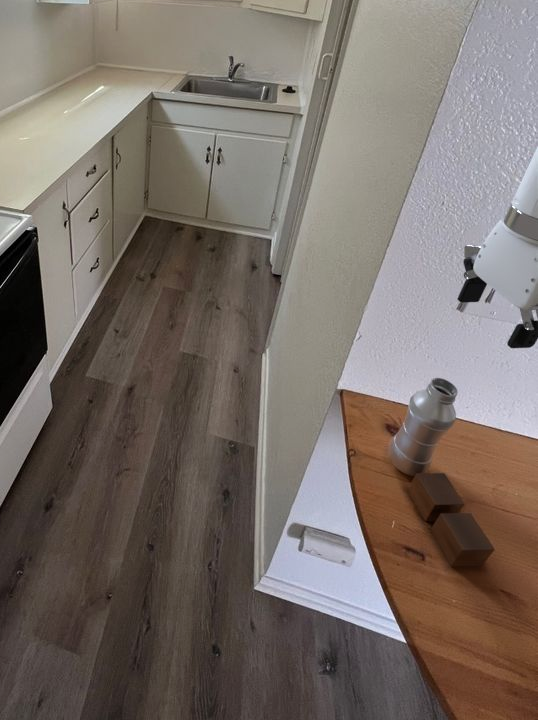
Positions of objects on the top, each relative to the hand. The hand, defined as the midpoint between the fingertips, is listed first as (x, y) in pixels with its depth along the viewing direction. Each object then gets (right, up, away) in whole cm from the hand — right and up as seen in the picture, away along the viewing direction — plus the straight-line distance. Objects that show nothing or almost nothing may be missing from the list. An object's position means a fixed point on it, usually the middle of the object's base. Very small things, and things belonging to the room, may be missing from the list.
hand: (491, 322), depth 64 cm
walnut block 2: (-5, -35, +1) cm, 35 cm away
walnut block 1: (-5, -32, +6) cm, 33 cm away
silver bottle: (-5, -29, +13) cm, 32 cm away
